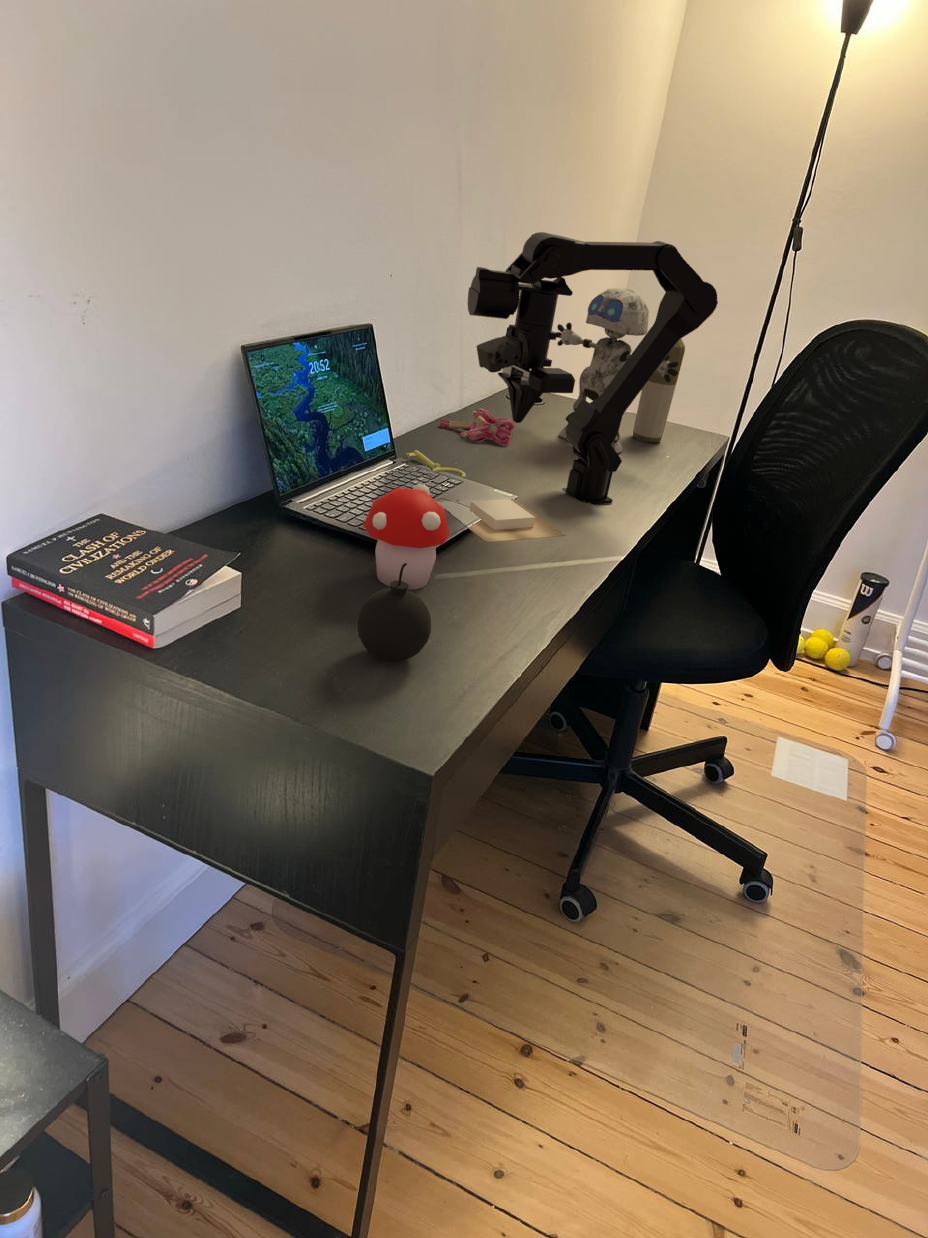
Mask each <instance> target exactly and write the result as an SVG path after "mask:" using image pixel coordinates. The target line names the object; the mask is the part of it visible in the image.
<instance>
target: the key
mask: <svg viewBox="0 0 928 1238" xmlns="http://www.w3.org/2000/svg"><path fill="white" fill-rule="evenodd" d="M405 455H406V456H407V457H408V458H409V459H417V460H418V461H419V462H421V463H422V464H424V465H425V466H427V467H429V468H430V469H431V468H432V469H433V470H436V471H440V472H454V473H459V474H461V476H462V477H466V476H467V475H466V473H465V472H464V471H463V470H461V469H458V468H455V467H453V468H452V467H441V464H439V463H437V462H436V463H435V462H433V461H432V460H430V459H429V458H428V457H427V456H425V455H424V454H423V453H421V452H420V451H419V450H418V449H416V450H413V452H406V454H405Z"/></svg>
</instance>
